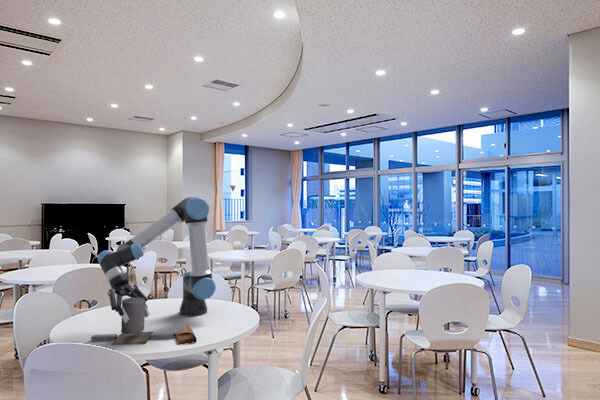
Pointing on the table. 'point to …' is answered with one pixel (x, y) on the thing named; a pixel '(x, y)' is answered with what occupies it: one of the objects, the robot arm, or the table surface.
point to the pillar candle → (134, 315)
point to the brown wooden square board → (132, 338)
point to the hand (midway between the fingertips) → (137, 318)
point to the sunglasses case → (185, 335)
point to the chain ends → (113, 336)
